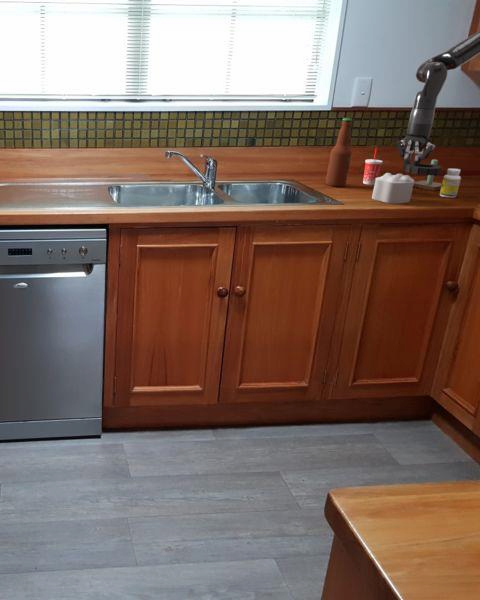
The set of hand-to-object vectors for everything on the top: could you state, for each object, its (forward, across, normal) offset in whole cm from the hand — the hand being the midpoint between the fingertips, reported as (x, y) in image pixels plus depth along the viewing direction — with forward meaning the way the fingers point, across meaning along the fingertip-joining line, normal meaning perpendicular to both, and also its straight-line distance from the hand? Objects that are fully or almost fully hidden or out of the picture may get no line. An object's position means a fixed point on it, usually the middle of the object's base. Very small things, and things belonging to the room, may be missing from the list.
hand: (410, 170), depth 224 cm
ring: (0, -4, 0) cm, 4 cm away
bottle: (+8, +21, +13) cm, 26 cm away
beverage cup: (+8, +16, -2) cm, 18 cm away
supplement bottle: (+8, -12, -7) cm, 16 cm away
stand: (+8, 0, -16) cm, 18 cm away
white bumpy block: (+8, -4, +16) cm, 19 cm away
